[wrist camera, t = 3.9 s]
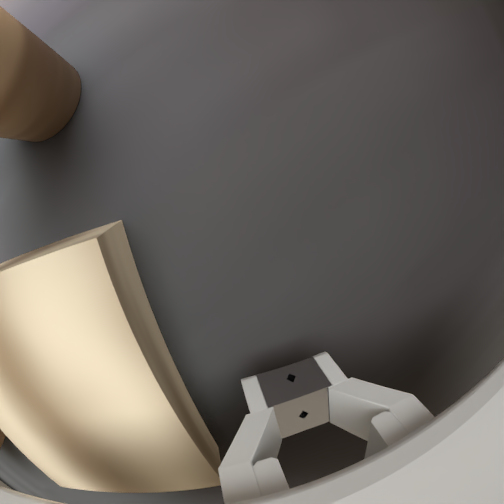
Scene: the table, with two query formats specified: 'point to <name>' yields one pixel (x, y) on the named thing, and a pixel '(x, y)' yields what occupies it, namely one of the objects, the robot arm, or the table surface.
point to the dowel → (33, 85)
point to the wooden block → (2, 437)
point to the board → (95, 373)
